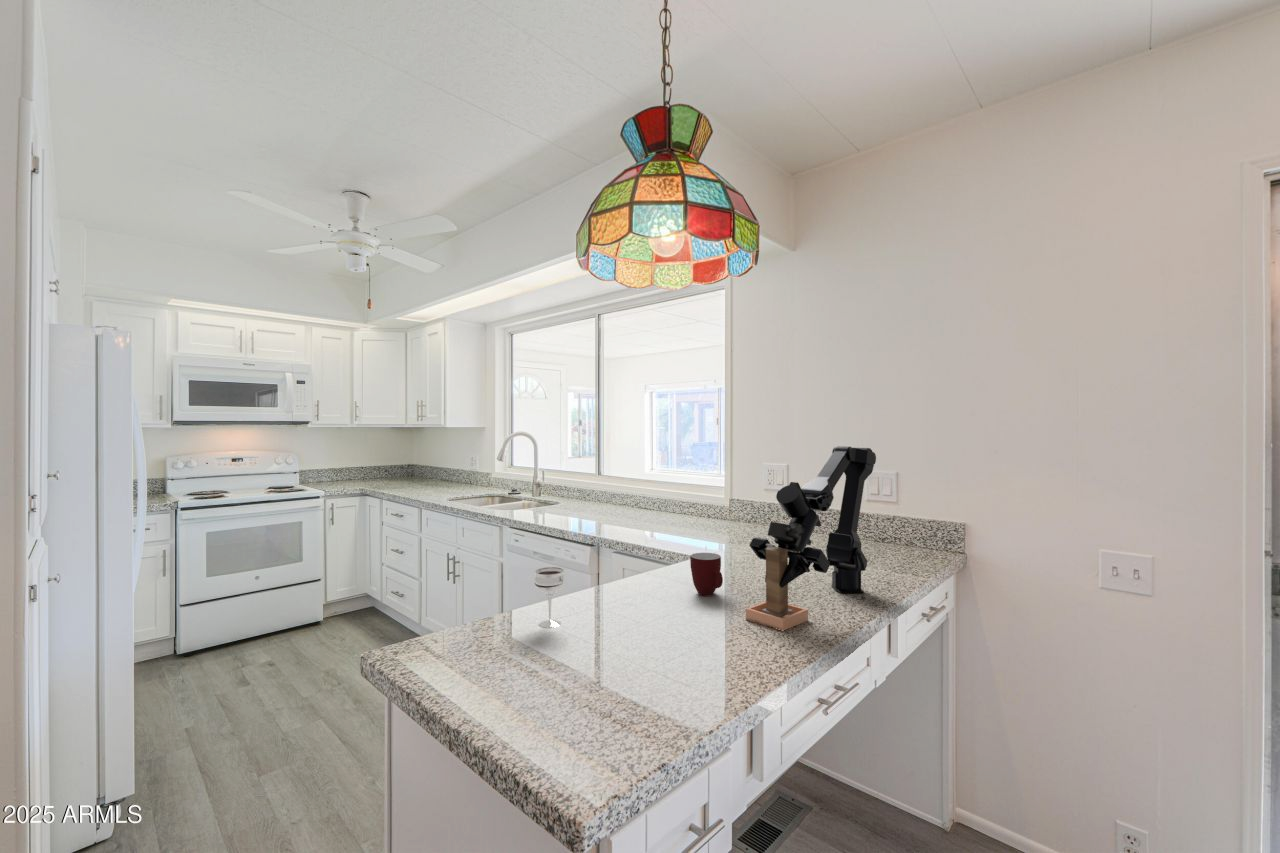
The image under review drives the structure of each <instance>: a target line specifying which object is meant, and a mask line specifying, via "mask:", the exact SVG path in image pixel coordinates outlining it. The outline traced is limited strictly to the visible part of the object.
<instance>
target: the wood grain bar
mask: <svg viewBox="0 0 1280 853" xmlns="http://www.w3.org/2000/svg"><path fill="white" fill-rule="evenodd" d="M788 563H789V558H788V549H783V548H778V546H776V547H772V548H768V549H766V560H765V576H766V582H765V601H766V608H765V609H762V612H763V613H767V614H770V615H773V616H776V617H780V618H781V617H783V616H785V615H788V614H790V613H792V612H793V610H790V609H788V604H789V583H788V584H787V585H786V586H784V587H783V588H781V587H780V586H779V584H780V581H781V578H782V576H783V574H784V572H785V570H786V568H787V566H788Z"/></svg>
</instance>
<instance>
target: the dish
mask: <svg viewBox="0 0 1280 853" xmlns="http://www.w3.org/2000/svg"><path fill="white" fill-rule="evenodd" d="M765 608H766V600H765V601H763V602H760V603H758V604H755V605H752V606H750V607H746V608H745V620H747V621H749V620H750V622H752V621H753V622H752V623H755V622H756V624H758V623H759V625H762V624H763V625H762V626H765V625H766V626H765V627H768V626H770V627H769V628H771V627H773V628H772V629H774V628H777V629H780V630H786V629H788V628H790V627H792V628H794V627H793V626H795V625H797V626H799V625H800V623H801V624H803V623H806V622H808V621H809V608H808V609H807V608H803V607H801V606H797V605H793V604H789V603H788V609H790V610H793V612H792V613H790V614H788V615H785V616H783V617H781V618H780V617H776V616H773V615H770V614H767V613H763V612H762V609H765ZM807 620H808V621H807ZM805 621H806V622H805ZM798 624H799V625H798ZM795 627H796V626H795ZM777 629H776V630H777ZM790 629H791V628H790ZM780 630H779V631H780ZM788 630H789V629H788ZM786 631H787V630H786Z"/></svg>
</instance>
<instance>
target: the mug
mask: <svg viewBox="0 0 1280 853" xmlns="http://www.w3.org/2000/svg"><path fill="white" fill-rule="evenodd" d="M689 561H690V562H689V563H690V565H689V566H690V571H691V572H690V573H691V576H692V583H693V585H694V588H695V590H696V591H697V594H698V595H700V596H706V597H707V596H713V595H714V594H715V592H716V590H717V589H719V588H721V587H722V585H723V581H724V579H723V574H722V571H721V569H722V568H721V567H722V556H721V555H720V554H717V553H712V552H696V553H692V554H690V560H689Z"/></svg>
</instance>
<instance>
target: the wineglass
mask: <svg viewBox="0 0 1280 853" xmlns="http://www.w3.org/2000/svg"><path fill="white" fill-rule="evenodd" d="M534 573H535V577H534V586H535V588H536V589H537V590H538V591H539V592H540V593H542V594H544V595H546V596H547V603H548V605H547V606H548V619H546V620H542V621H540V622H539V623H538V626H539V627H541V628H545V629H548V628H549V629H551V628H556V627H559V626H561V624H562V622H561V621H559V620H557V619H552V617H551V616H552V597H553V596H554V594H556V593H558V592H559V591H560V590H562V588H563V587H564V584H565V575H564V573H565V569H564V568H562V567H555V566H552V567H551V566H549V567H541V568H538V569H536V570H534Z"/></svg>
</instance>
